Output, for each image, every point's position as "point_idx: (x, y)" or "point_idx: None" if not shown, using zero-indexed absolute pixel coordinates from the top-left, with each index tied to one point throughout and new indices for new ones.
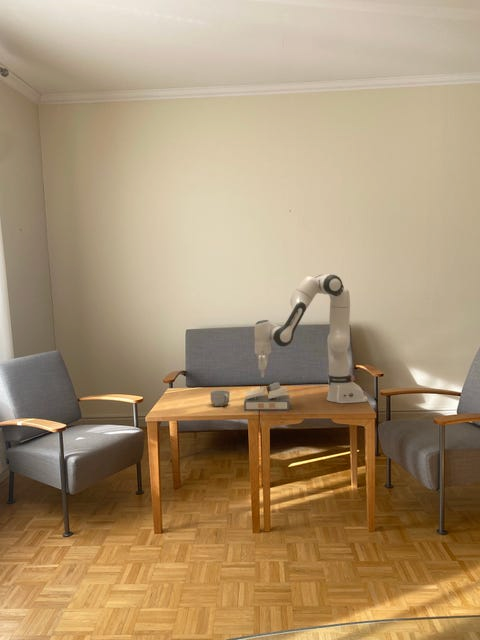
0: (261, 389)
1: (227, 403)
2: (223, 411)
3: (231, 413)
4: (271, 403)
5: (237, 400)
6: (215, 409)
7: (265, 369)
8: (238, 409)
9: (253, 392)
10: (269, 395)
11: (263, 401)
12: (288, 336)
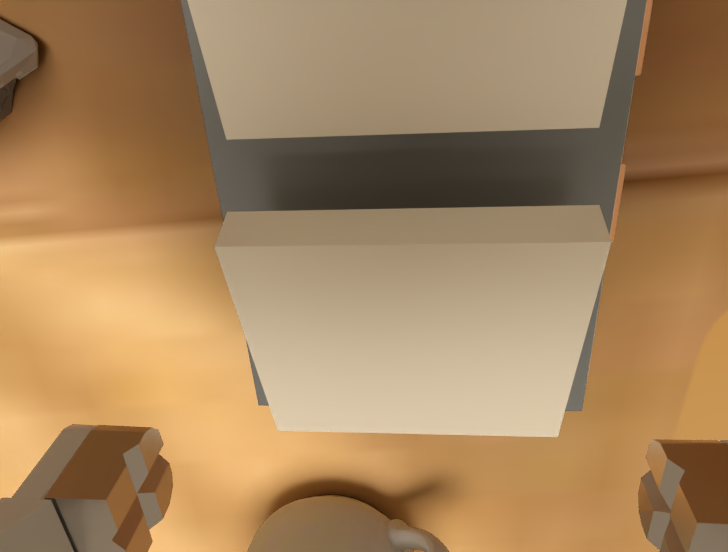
0: (364, 284)
1: (347, 499)
2: (568, 495)
3: (659, 436)
4: (644, 34)
5: (142, 425)
6: (487, 547)
7: (9, 528)
8: None
9: (435, 373)
10: (576, 102)
11: (616, 174)
12: None
